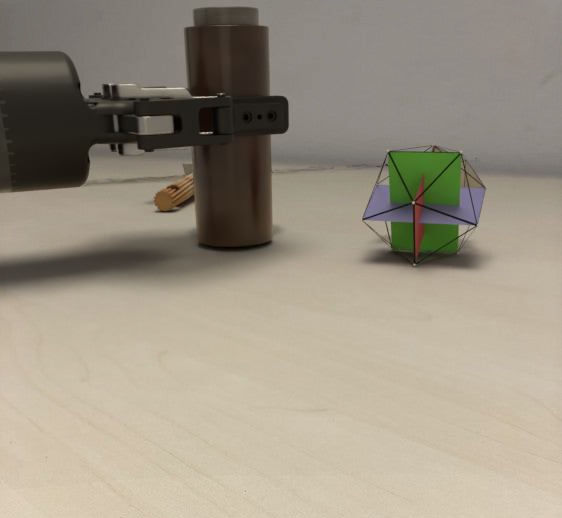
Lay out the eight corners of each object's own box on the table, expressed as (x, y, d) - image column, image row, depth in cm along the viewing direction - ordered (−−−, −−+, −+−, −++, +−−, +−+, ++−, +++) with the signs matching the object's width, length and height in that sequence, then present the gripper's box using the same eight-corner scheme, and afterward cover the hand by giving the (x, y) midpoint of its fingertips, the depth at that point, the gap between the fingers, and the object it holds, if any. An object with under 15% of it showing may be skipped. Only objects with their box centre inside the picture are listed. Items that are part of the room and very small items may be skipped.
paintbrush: (247, 148, 76) (182, 185, 58) (248, 174, 77) (185, 218, 59) (213, 148, 76) (138, 184, 59) (215, 173, 78) (142, 216, 60)
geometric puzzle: (472, 243, 37) (491, 108, 38) (345, 236, 39) (369, 109, 41) (475, 292, 44) (492, 175, 45) (367, 284, 46) (386, 173, 47)
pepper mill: (203, 249, 45) (188, 5, 40) (192, 233, 50) (177, 12, 44) (281, 243, 47) (277, 5, 41) (263, 228, 51) (257, 12, 46)
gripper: (-11, 47, 32) (318, 45, 39) (-28, 54, 44) (225, 52, 51) (17, 212, 35) (318, 185, 42) (-6, 177, 47) (230, 160, 54)
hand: (266, 112), depth 46 cm, fingers closed on pepper mill, 5 cm apart
